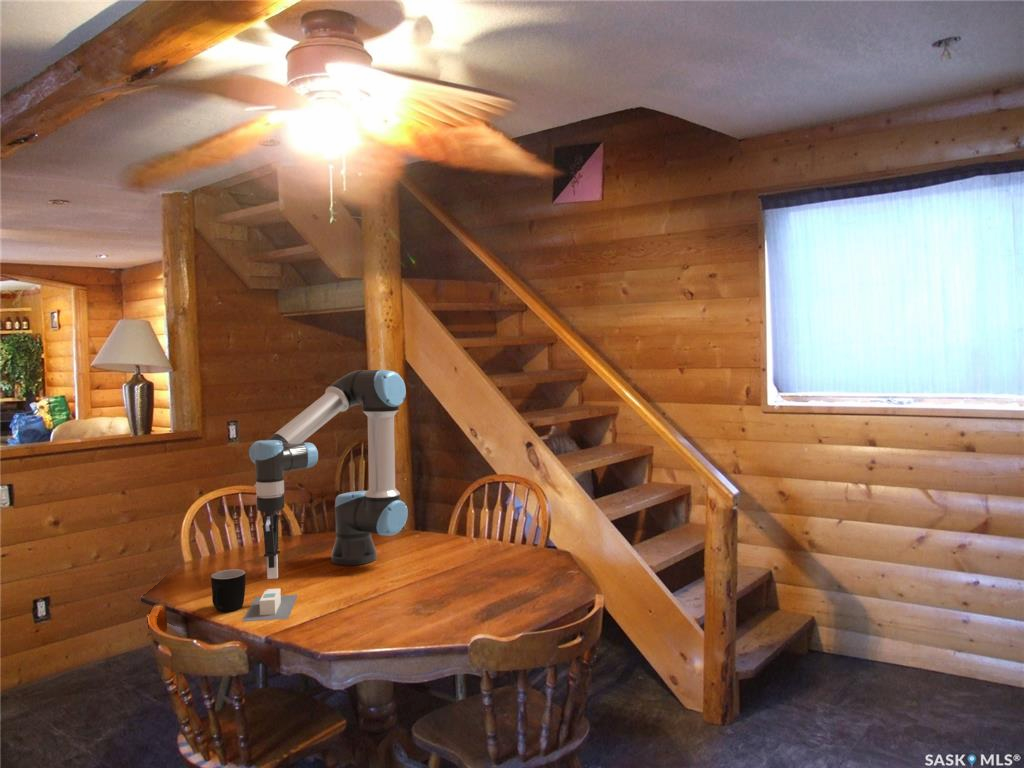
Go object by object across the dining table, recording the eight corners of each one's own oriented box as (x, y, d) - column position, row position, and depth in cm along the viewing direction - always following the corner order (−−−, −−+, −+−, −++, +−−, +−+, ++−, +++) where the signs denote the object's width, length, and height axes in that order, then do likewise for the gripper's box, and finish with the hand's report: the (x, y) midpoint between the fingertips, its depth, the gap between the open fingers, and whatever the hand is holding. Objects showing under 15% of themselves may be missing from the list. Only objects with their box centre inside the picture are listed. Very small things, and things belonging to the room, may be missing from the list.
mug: (223, 603, 221) (222, 568, 221) (252, 605, 220) (251, 569, 219) (199, 618, 210) (197, 581, 209) (229, 620, 208) (228, 582, 207)
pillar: (280, 588, 220) (274, 599, 210) (280, 602, 221) (275, 614, 211) (265, 588, 220) (259, 600, 210) (266, 603, 220) (260, 615, 210)
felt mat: (298, 595, 227) (298, 594, 227) (288, 620, 207) (288, 618, 207) (255, 598, 225) (255, 597, 225) (241, 622, 206) (241, 621, 206)
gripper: (260, 491, 225) (263, 572, 226) (252, 500, 212) (254, 585, 213) (287, 490, 226) (289, 570, 227) (280, 499, 213) (282, 584, 214)
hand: (272, 577), depth 220 cm, fingers closed
